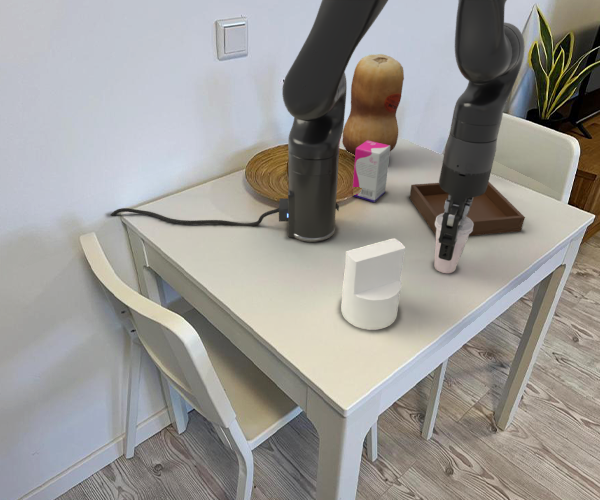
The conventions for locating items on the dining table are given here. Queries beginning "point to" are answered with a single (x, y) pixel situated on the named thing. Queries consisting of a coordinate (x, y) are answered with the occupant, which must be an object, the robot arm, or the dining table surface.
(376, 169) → the supplement box
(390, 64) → the butternut squash
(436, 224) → the smoothie
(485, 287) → the dining table surface
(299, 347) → the dining table surface
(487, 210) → the tray
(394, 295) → the cylinder with rectangular tab
